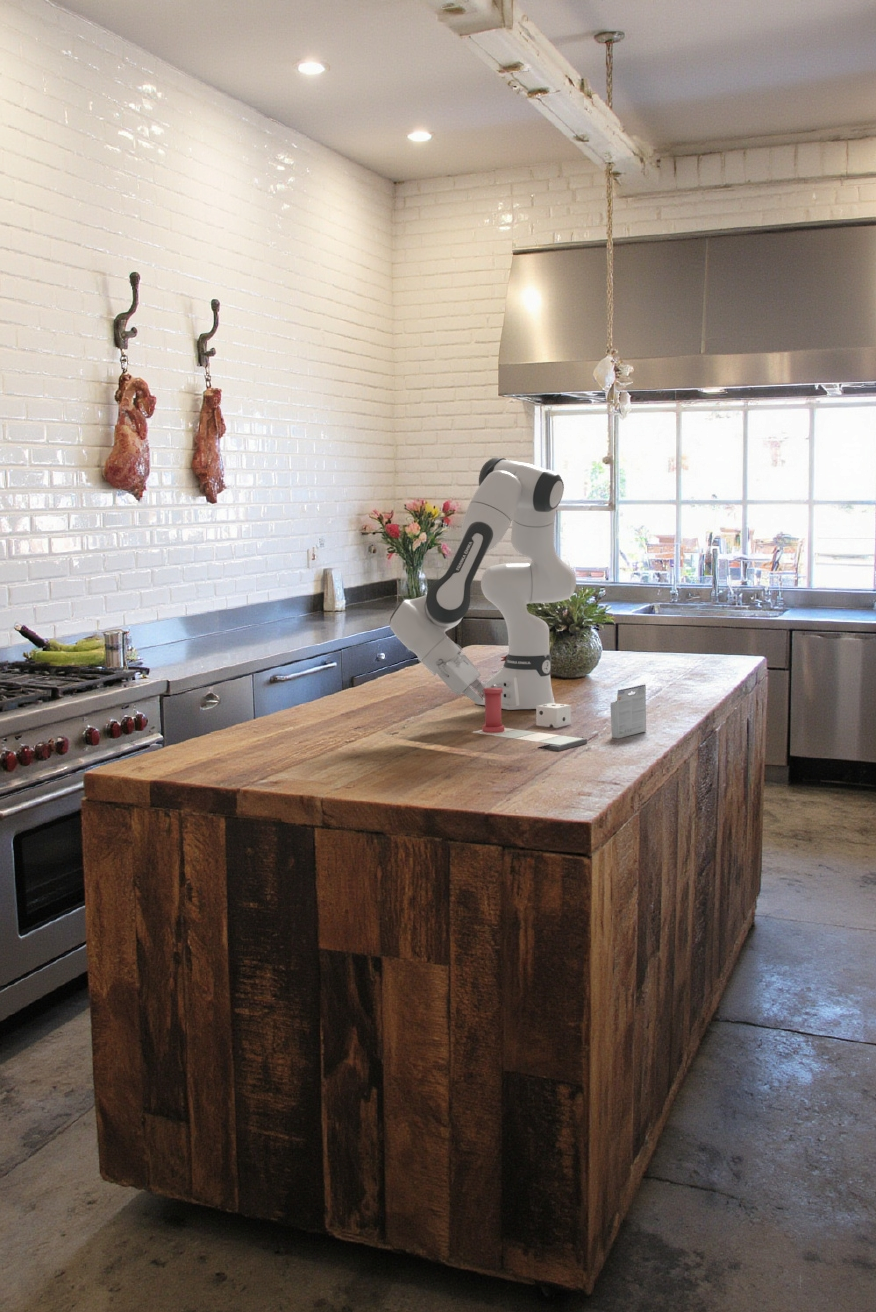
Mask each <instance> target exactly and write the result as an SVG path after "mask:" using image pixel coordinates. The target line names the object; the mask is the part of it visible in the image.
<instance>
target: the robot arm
mask: <svg viewBox="0 0 876 1312" xmlns="http://www.w3.org/2000/svg"><path fill="white" fill-rule="evenodd" d="M564 489H565V486H564V481H563V479H562V477H561V476H560V474H558V473H557V472H555V471H554V470H551V469H545V468H544V467H540V466H537V465H535V464H532V463H528V462H522V461H517V460H510V459H506V457H491V458H490V459H489V460H487V461H486V462H485V463H484V464H483V466H482V467H481V469H480V472H479V475H478V488H477V490H476V491H475V493H474V495H473V496H472V498H471V500H470V502H469V504H468V506H467V509H466V511H465V514H464V517H463V520H462V524H461V527H460V533H461V539H460V543H459V546H458V549H457V551H456V552H455V555H454V556H453V558H452V561H451V562H450V565H449V566H448V569H447V571H446V572H445V574H444V575H442V576H441V578H439V579H438V580H436V581H435V582H434V583H433V584H432V585H431V586H430V587H429V588H428V589H429V590H428V591H427V593H426V594H425V595H423V596H420V597H416V598H412V599H404V600H401V602H400V603H399V604H398V606H396V608H394V611H393V612H392V615H391V616H390V618H389V628H390V630H391V631H392V632H393V634H394V636H396V638H397V639H398V641H399V642H401V643H402V645H403V646H405V648H407V650H409V652H412V653H413V654H415V655H416V656H417V659H418V660H419V662H420V663H421V664H422V665H423V666H424V667H425V668H426V669H427V670H428V671H429V672H431V674H432V675H433V676H437V675H438V677H439V678H440V679H441V681H442V682H443V683H444V684H445V685H446V686H447V688H449V690H450V691H452V692H453V693H454V695H457V696H460V695H461V694H463V695H464V696H466V697H467V698H468V699H470V700H472V701H473V702H474V704H476V705H482V706H485V693H483V689H484V688H502V689H503V693H501V710H502V709H503V710H509V711H512V710H514V711H516V710H536V706H539V705H543V704H548V703H556V701H555V699H554V694H553V693H554V692H553V688H552V682H551V681H552V680H551V671H552V655H551V653H550V627H549V625H548V624H547V622H546V621H545V620H543V618H542V619H541V618H540V617H538V616H537V615H534V614H531V613H530V612H529V611H528V609H527V605H529V604H548V603H549V604H551V603H552V604H553V603H557V602H562V601H566V600H569V599H570V598H571V597H572V596H573V595H574V593H575V591H576V587H577V576H576V574H575V572H574V570H573V569H572V568H571V566H570V565H569V564H567V563H566V562H565V561H563V559H561V557H560V556H559V554H558V553H557V550H556V548H555V547H556V546H555V539H554V538H555V533H554V532H555V520H556V508H557V507H558V506H559V504H560V503H561V501H562V498H563V495H564V492H565V491H564ZM510 525H511V532H510V533H511V535H510V542H511V545H512V547H513V549H514V550H515V551H517V552H518V553H519V554H520V555H522V556H524V557H526V558H528V559H530V560H531V561H529V562H505V563H500V564H494V565H491V566H487V568H486V569H485V570H484V571H483V574H482V576H481V579H480V587H481V588H480V589H481V592H482V594H483V596H484V597H485V599H486V600H488V602H490V603H491V604H492V605H493V606H495V607H496V608H497V610H499V612H500V613H501V615H502V616H503V620H504V621H505V624H506V629H507V639H508V641H507V642H508V654H507V655H505V656H501V657H500V662H504V663H503V667H502V668H501V669H499V671H497V672H496V673H495V674H494V675H492V676H491V677H490V678H489V679H488V680H487V681H486V682H485V685H484V684H483V683H482V680H480V677H481V672H480V670H479V669H478V667H476V665H475V664H474V663H473V662H472V661H471V660H470V658H468V656H467V655H466V654H465V653H464V652H463V648H462V647H461V646H460V645H459V644H458V643H455V642H454V641H453V640H452V639H451V638H450V637H449V636H448V635H447V634H446V632H447V631H449V630H451V629H452V628H455V627H456V626H457V625H459V624H460V623H461V621H462V619H463V618H464V616H465V615H466V614H467V613H468V611H469V608H470V605H471V586H472V583H473V581H474V579H475V576H476V574H477V572H478V571H479V568H480V565H481V564H482V561H483V560H484V557H485V556H486V555H487V554H488V552H489V551H490V550H492V549H494V548H496V547H497V546H498V544H499V543H500V542H501V541H502V539H503V538H504V536H505V535H506V533H507V531H508V530H509V528H510ZM474 689H475V690H476V691H477V692H478V693H477V692H476V691H475V690H474Z"/></svg>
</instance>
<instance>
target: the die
mask: <svg viewBox="0 0 876 1312" xmlns="http://www.w3.org/2000/svg"><path fill="white" fill-rule="evenodd" d="M535 710H536V711H535V712H536V713H535V717H536V719H535V720H536V726H539V727H546V728H553V729H554V728H555V729H558V728H562V727H566V726H570V725H572V704H566V703H565V704H563V703H556V702H555V703H548V704H543V705H539V706H536V709H535Z"/></svg>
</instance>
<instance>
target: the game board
mask: <svg viewBox="0 0 876 1312" xmlns="http://www.w3.org/2000/svg"><path fill="white" fill-rule="evenodd" d="M471 733H474V734H480V735H487V736H493V737H501V738H507V739H512V740H513V739H515V740H522V741H526V742H527V741H529V742H533V743H535V742H536V743H537V742H538V743H542V744H545V745H542V746H537V747H536V749H541V750H549V751H555V752H556V751H557V752H561V751H564V750H568V749H571V748H575V747H578V746H582V745H586V744H588V739H587V738H583V737H576V736H575V737H574V736H566V735H560V734H551V733H547V732H545V733H544V732H539V731H538V732H537V731H531V730H525V729H524V730H523V729H516V728H508V727H504V731H503V732H499V733H488V732H483V731H482V729H479V730H476V731H475V730H474V731H471Z"/></svg>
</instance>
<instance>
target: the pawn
mask: <svg viewBox="0 0 876 1312" xmlns="http://www.w3.org/2000/svg"><path fill="white" fill-rule="evenodd" d="M483 693H485V705H484V709H485V710H484V713H485V714H484V717H485V718H484V721H485V722H484V724H483V725H481V727H482V729H481V730H482V731H483V732H488V733H499V732H503V731H504V728H505V725H504V724H502V708H501V693H503V689H502V688H484V689H483ZM503 733H504V732H503ZM499 734H500V733H499Z"/></svg>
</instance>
